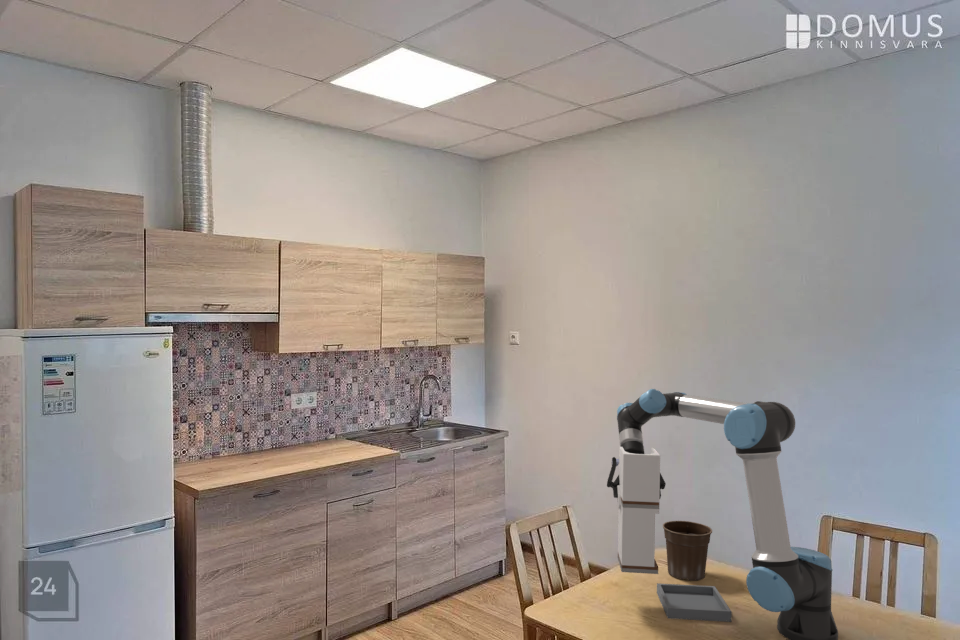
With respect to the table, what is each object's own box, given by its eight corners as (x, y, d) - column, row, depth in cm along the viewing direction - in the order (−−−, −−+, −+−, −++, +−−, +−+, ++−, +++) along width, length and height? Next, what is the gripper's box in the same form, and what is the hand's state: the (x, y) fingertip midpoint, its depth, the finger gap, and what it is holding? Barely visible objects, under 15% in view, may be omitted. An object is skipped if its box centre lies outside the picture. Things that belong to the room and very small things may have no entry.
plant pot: (681, 562, 234) (682, 517, 234) (721, 576, 221) (722, 529, 221) (652, 571, 225) (652, 525, 225) (691, 587, 212) (692, 538, 212)
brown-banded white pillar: (658, 574, 192) (660, 455, 192) (621, 572, 193) (623, 454, 193) (652, 560, 203) (654, 448, 203) (617, 558, 204) (619, 446, 204)
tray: (714, 595, 206) (714, 586, 206) (731, 621, 188) (731, 611, 188) (656, 592, 207) (656, 583, 207) (667, 618, 189) (667, 608, 189)
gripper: (665, 453, 214) (675, 515, 199) (595, 451, 216) (599, 512, 201) (669, 440, 209) (679, 502, 194) (597, 438, 211) (601, 499, 196)
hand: (638, 507), depth 197 cm, fingers closed on brown-banded white pillar, 10 cm apart
